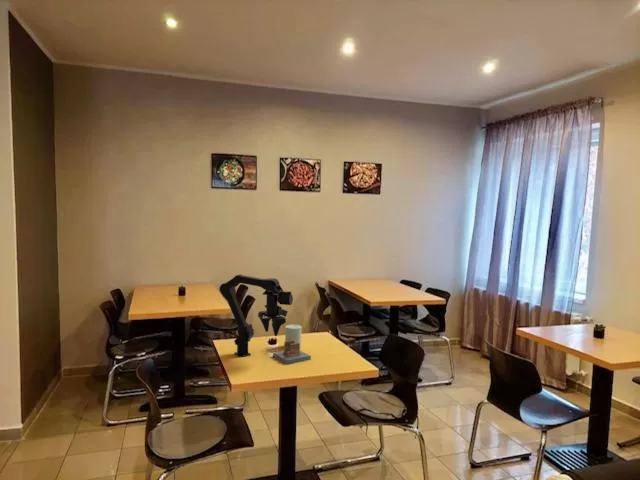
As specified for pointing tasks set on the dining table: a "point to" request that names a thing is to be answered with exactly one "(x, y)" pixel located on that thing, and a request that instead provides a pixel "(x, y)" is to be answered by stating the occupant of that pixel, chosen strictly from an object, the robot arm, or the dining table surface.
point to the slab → (291, 360)
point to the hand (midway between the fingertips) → (271, 333)
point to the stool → (291, 348)
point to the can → (293, 333)
